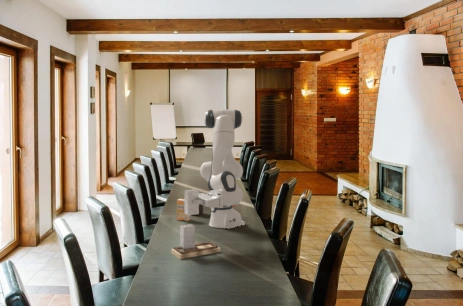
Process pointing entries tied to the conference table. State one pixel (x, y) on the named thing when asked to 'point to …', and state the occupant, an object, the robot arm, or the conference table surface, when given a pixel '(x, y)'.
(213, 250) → the wooden compartment tray
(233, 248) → the conference table surface
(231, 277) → the conference table surface
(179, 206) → the supplement box
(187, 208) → the aluminium billet
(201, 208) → the pillar candle
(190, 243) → the billet
